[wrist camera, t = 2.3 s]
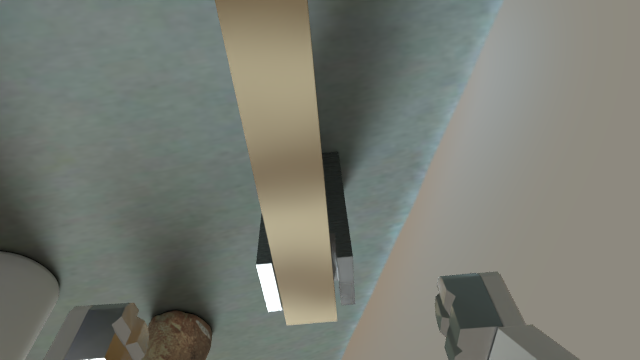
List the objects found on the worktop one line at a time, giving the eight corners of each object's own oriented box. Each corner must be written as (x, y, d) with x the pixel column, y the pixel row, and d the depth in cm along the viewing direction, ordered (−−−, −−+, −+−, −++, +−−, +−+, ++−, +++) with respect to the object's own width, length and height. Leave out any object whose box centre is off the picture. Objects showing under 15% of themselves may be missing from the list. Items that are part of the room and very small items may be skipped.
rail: (190, -207, 12) (165, -224, 10) (287, -217, 12) (284, -236, 10) (287, 284, 25) (286, 325, 23) (333, 280, 25) (337, 321, 23)
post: (267, 158, 29) (256, 264, 21) (338, 151, 29) (352, 256, 21) (275, 201, 32) (268, 311, 24) (341, 195, 31) (355, 304, 24)
